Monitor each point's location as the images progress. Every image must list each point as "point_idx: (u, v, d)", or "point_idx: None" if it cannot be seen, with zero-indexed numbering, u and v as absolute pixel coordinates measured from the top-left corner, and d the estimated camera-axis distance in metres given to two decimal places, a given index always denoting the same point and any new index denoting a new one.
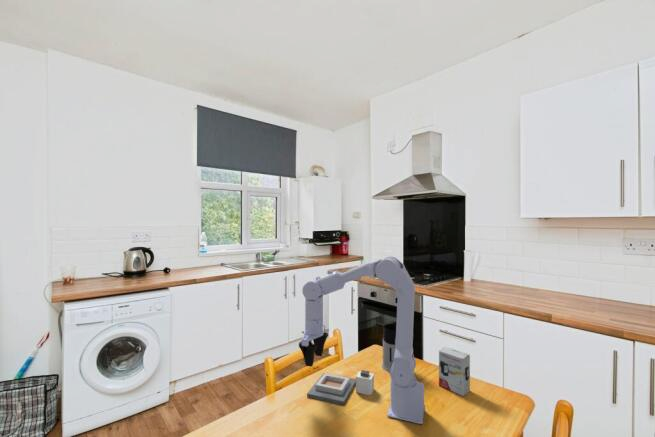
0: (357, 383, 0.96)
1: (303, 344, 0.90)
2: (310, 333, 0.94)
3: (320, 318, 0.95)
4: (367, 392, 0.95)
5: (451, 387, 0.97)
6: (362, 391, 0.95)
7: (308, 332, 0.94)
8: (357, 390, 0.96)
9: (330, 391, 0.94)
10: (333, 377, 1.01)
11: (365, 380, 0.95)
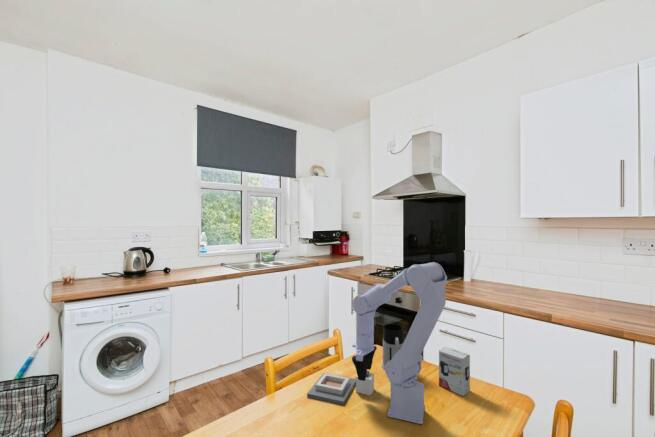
0: (357, 383, 0.96)
1: (358, 359, 0.91)
2: (362, 347, 0.95)
3: (368, 333, 0.95)
4: (367, 392, 0.95)
5: (451, 387, 0.97)
6: (362, 391, 0.95)
7: (360, 346, 0.95)
8: (357, 390, 0.96)
9: (330, 391, 0.94)
10: (333, 377, 1.01)
11: (365, 380, 0.95)
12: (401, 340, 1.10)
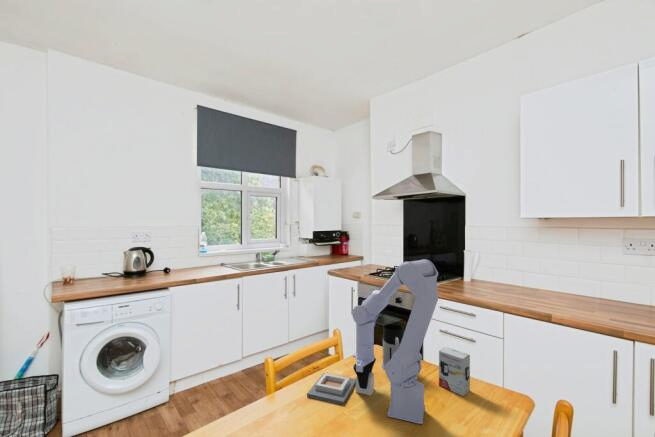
0: (357, 383, 0.96)
1: (358, 370, 0.91)
2: (362, 358, 0.95)
3: (368, 344, 0.95)
4: (367, 392, 0.95)
5: (451, 387, 0.97)
6: (362, 391, 0.95)
7: (360, 357, 0.95)
8: (357, 390, 0.96)
9: (330, 391, 0.94)
10: (333, 377, 1.01)
11: None
12: (401, 340, 1.10)
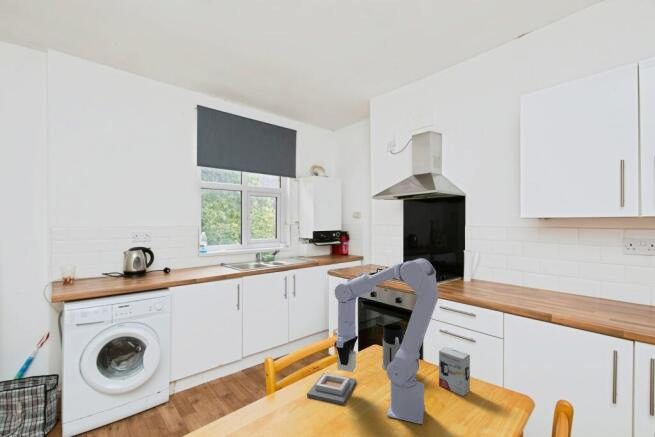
0: (338, 360, 0.97)
1: (338, 345, 0.91)
2: (343, 335, 0.95)
3: (351, 320, 0.96)
4: (348, 369, 0.95)
5: (451, 387, 0.97)
6: (343, 368, 0.96)
7: (341, 334, 0.96)
8: (338, 367, 0.97)
9: (330, 391, 0.94)
10: (333, 377, 1.01)
11: None
12: (400, 340, 1.10)
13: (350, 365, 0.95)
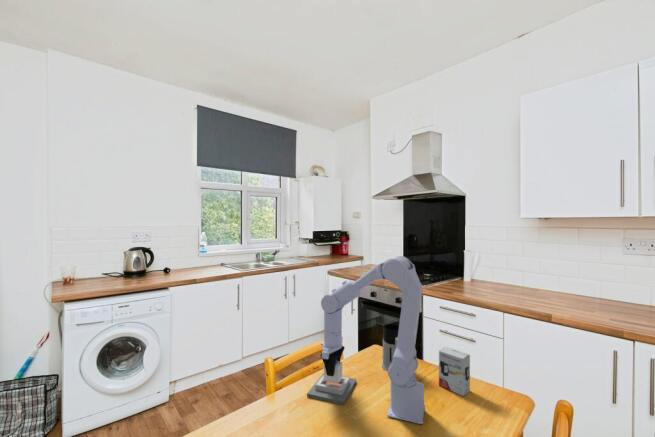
0: (325, 371, 0.97)
1: (323, 357, 0.91)
2: (329, 346, 0.96)
3: (338, 331, 0.96)
4: (334, 380, 0.96)
5: (451, 387, 0.97)
6: (330, 379, 0.96)
7: (327, 345, 0.96)
8: (325, 378, 0.97)
9: (330, 391, 0.94)
10: None
11: None
12: None
13: (336, 376, 0.95)
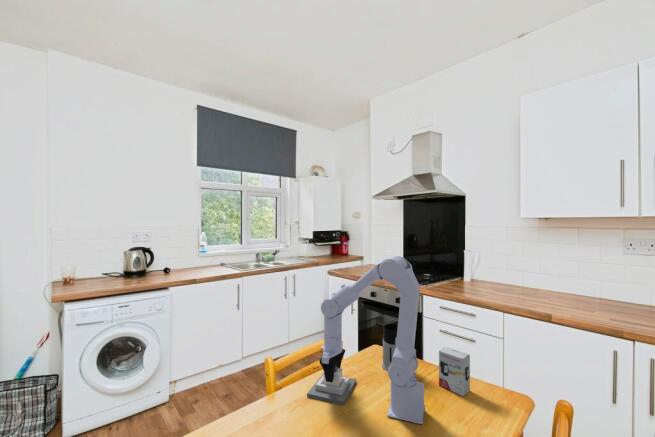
0: None
1: (323, 362, 0.91)
2: (329, 350, 0.96)
3: (338, 336, 0.96)
4: None
5: (451, 387, 0.97)
6: None
7: (327, 349, 0.96)
8: None
9: (330, 391, 0.94)
10: None
11: None
12: None
13: (336, 383, 0.95)
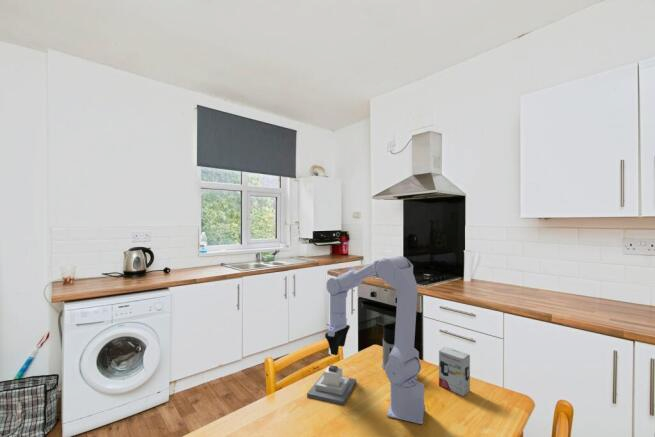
0: (325, 378, 0.97)
1: (329, 334, 0.99)
2: (335, 325, 1.03)
3: (341, 312, 1.04)
4: None
5: (451, 387, 0.97)
6: None
7: (333, 324, 1.04)
8: None
9: (330, 391, 0.94)
10: None
11: (333, 375, 0.96)
12: None
13: (336, 383, 0.95)
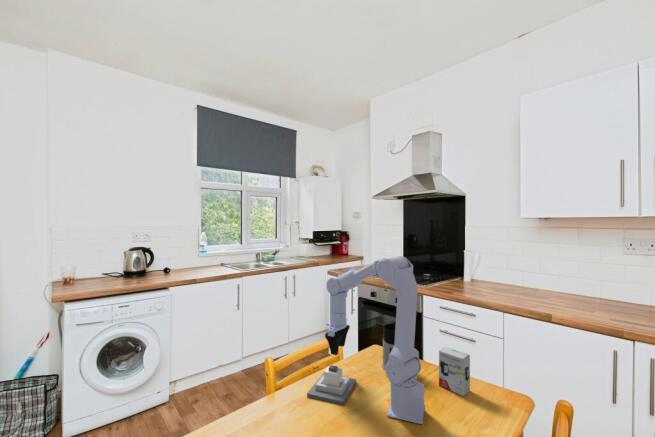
0: (325, 378, 0.97)
1: (329, 334, 0.99)
2: (335, 325, 1.03)
3: (341, 312, 1.04)
4: None
5: (451, 387, 0.97)
6: None
7: (333, 324, 1.04)
8: None
9: (330, 391, 0.94)
10: None
11: (333, 375, 0.96)
12: None
13: (336, 383, 0.95)
